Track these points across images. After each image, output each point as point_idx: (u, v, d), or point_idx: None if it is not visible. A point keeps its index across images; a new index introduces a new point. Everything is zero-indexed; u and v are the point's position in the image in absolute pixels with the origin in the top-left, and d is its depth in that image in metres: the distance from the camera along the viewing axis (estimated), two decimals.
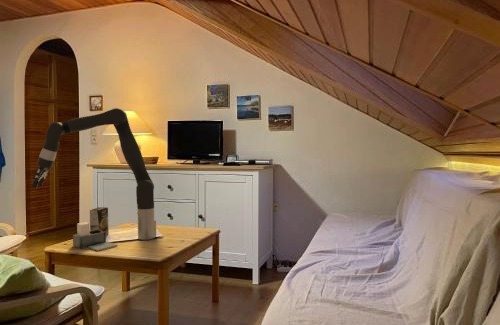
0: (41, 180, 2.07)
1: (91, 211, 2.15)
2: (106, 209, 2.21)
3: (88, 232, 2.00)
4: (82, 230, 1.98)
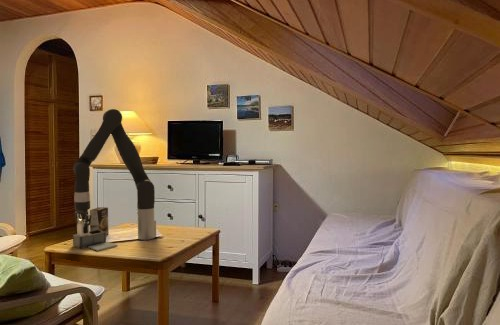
0: None
1: (91, 211, 2.15)
2: (106, 209, 2.21)
3: (88, 232, 2.00)
4: (82, 230, 1.98)
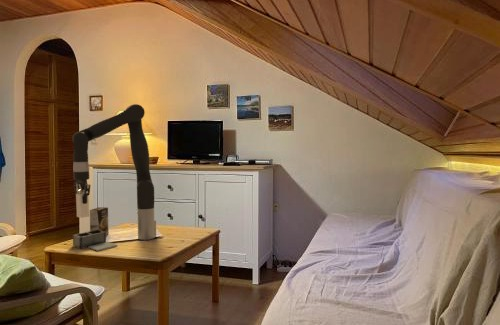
0: None
1: (91, 211, 2.15)
2: (106, 209, 2.21)
3: (87, 203, 1.99)
4: (81, 201, 1.97)
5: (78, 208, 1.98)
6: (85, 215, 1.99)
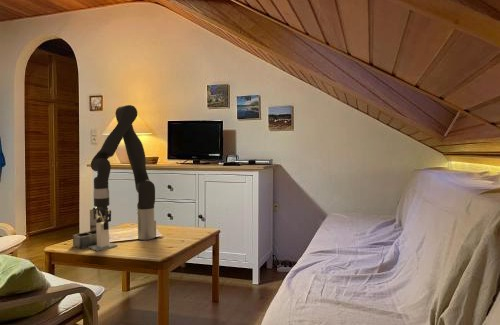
0: (99, 222, 2.00)
1: (91, 211, 2.15)
2: None
3: (107, 232, 1.98)
4: (102, 230, 1.96)
5: (98, 237, 1.97)
6: (105, 244, 1.97)
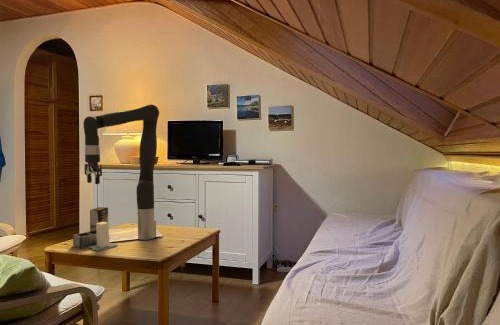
0: (89, 177, 2.10)
1: (91, 211, 2.15)
2: (106, 209, 2.21)
3: (107, 232, 1.98)
4: (102, 230, 1.96)
5: (98, 237, 1.97)
6: (105, 244, 1.97)
